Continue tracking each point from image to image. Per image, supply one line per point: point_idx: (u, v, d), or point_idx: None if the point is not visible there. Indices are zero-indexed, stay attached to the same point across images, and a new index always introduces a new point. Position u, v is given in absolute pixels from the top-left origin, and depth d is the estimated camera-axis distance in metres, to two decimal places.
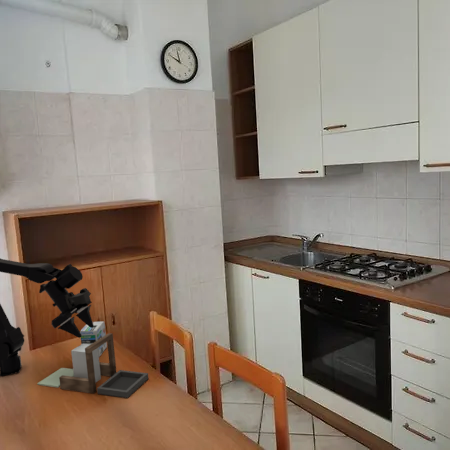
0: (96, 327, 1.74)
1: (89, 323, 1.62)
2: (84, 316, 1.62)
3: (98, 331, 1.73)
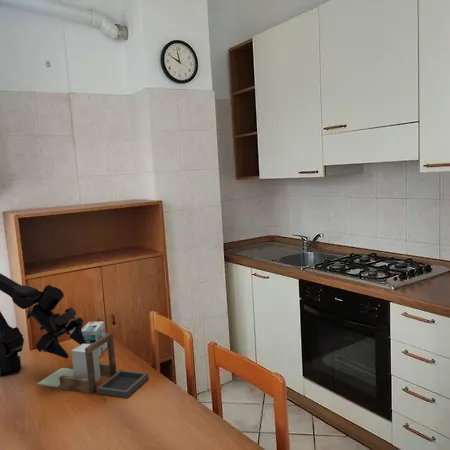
0: (96, 327, 1.74)
1: (82, 343, 1.57)
2: (76, 336, 1.58)
3: (98, 331, 1.73)
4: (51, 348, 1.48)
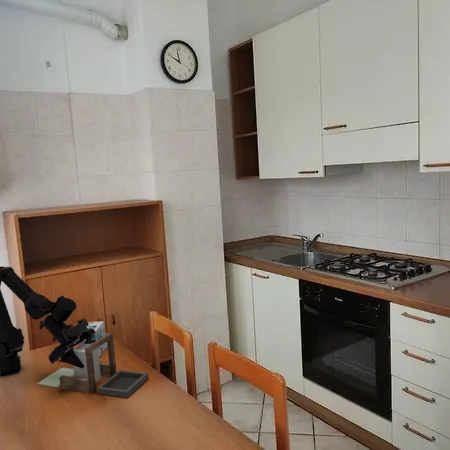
0: (96, 327, 1.74)
1: None
2: None
3: (98, 331, 1.73)
4: (67, 358, 1.48)
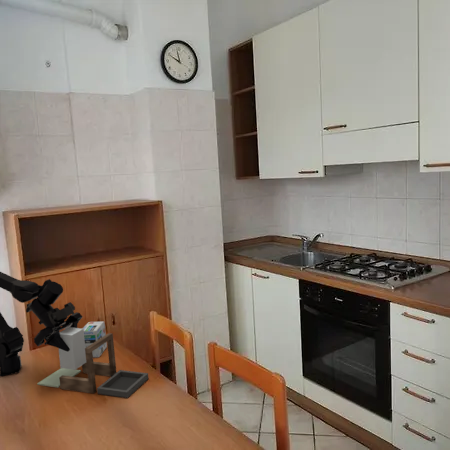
0: (96, 327, 1.74)
1: None
2: None
3: (98, 331, 1.73)
4: (52, 341, 1.49)
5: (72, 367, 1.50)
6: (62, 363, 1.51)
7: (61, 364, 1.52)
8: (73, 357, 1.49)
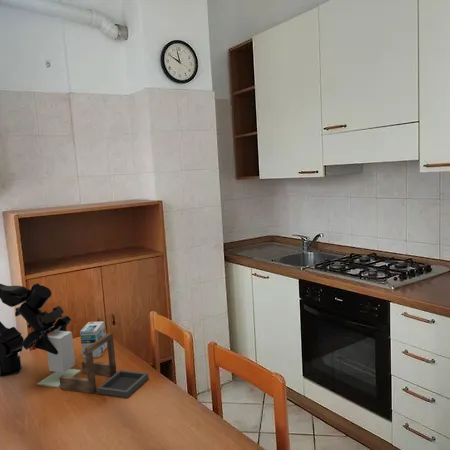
0: (96, 327, 1.74)
1: None
2: None
3: (98, 331, 1.73)
4: (41, 344, 1.51)
5: (60, 370, 1.52)
6: (51, 366, 1.53)
7: (50, 367, 1.53)
8: (61, 360, 1.51)
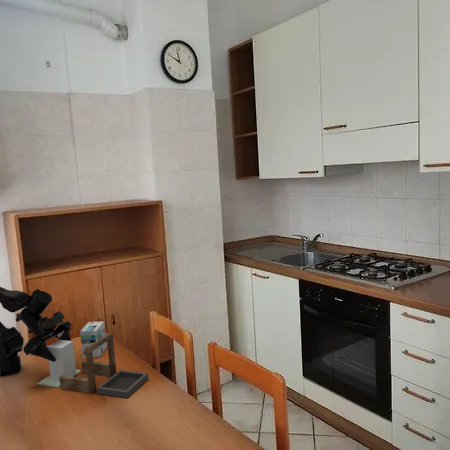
0: (96, 327, 1.74)
1: None
2: None
3: (98, 331, 1.73)
4: (39, 351, 1.50)
5: None
6: (52, 375, 1.54)
7: (51, 377, 1.54)
8: (63, 369, 1.52)
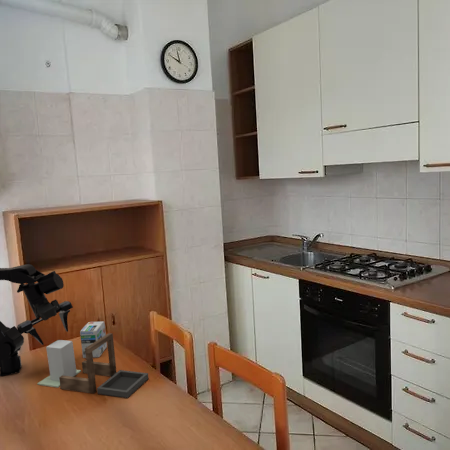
0: (96, 327, 1.74)
1: (65, 327, 1.64)
2: (62, 319, 1.64)
3: (98, 331, 1.73)
4: None
5: None
6: (52, 376, 1.54)
7: (51, 377, 1.54)
8: (63, 370, 1.52)
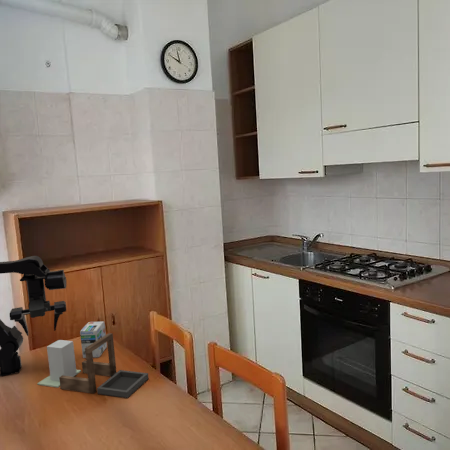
0: (96, 327, 1.74)
1: None
2: None
3: (98, 331, 1.73)
4: None
5: None
6: (52, 375, 1.54)
7: (51, 377, 1.54)
8: (63, 369, 1.52)
